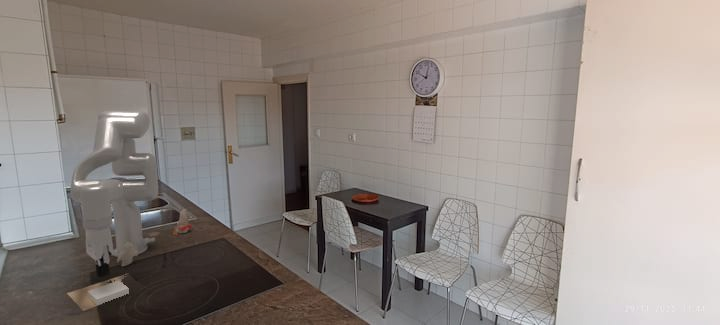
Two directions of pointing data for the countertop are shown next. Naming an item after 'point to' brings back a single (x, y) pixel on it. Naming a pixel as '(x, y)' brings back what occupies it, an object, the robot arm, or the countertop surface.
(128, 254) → the arrowhead
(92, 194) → the robot arm
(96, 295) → the tile
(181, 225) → the figurine
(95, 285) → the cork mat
